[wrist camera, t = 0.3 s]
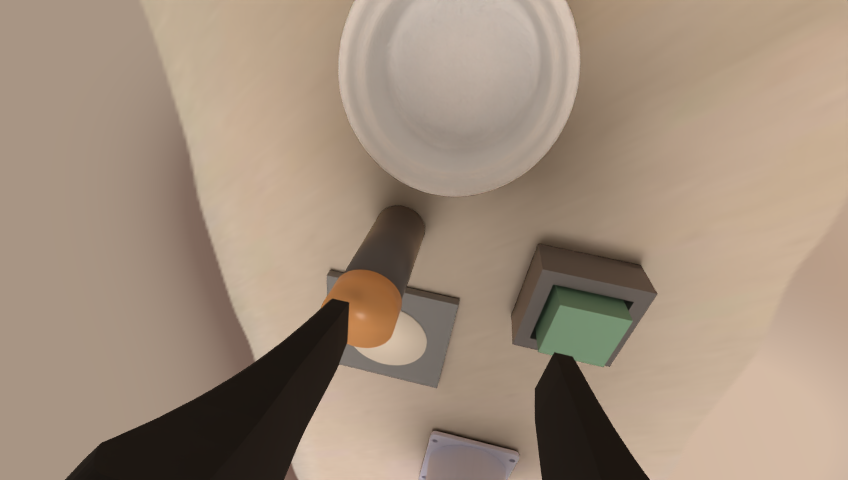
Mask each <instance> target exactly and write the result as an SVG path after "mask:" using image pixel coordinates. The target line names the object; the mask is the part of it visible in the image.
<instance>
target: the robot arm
mask: <svg viewBox="0 0 848 480" xmlns="http://www.w3.org/2000/svg"><path fill="white" fill-rule="evenodd" d="M348 321H349V302H346V301H341V300H337V299H331V300H329V301H328V302H327V303H326V304H325V305H324V306H323V307H322V308H321V309H320V310H319V311H318V312H317V313H316V314H314V315H313V316H312V317H311V318H310V319H309V320H308V321H307V322H305V323H304V324H303V325H302V326H301V327H300V328H298V329H297V330H296V331H295V332H294V333H292V334H291V335H290V336H289V337H288V338H286V339H285V340H284V341H283V342H281V343H280V344H279V345H277V346H276V347H275V348H273V349H272V350H271V351H269V352H268V353H267V354H265V355H264V356H263V357H261V358H260V359H259V360H257V361H256V362H254V363H253V364H251V365H250V366H248V367H247V368H246V369H244V370H242V371H241V372H239V373H238V374H236V375H235V376H233V377H232V378H230V379H228V380H227V381H225V382H223V383H222V384H220V385H218V386H217V387H215V388H213V389H212V390H210V391H208V392H206V393H205V394H203V395H201V396H199V397H197V398H196V399H194V400H192V401H190V402H188V403H186V404H184V405H182V406H180V407H178V408H176V409H174V410H172V411H170V412H169V413H166V414H165V415H163V416H161V417H159V418H157V419H154V420H152V421H150V422H148V423H146V424H143V425H141V426H139V427H137V428H135V429H132V430H130V431H128V432H125V433H123V434H121V435H119V436H116V437H114V438H112V439H109V440H107V441H105V442H102V443H101V444H100V445H99V446H98V447H97V448H96V449H95V450H94V451H92V452H91V453H90V454H89V455H88V456H87V457H86V458H85V459H84V460H83V461H82V462H81V463H80V464H79V465H78V466H77V468H76V469H75V470H74V471H73V472H72V473H71V474H70V475H69V476H68V477H67V478H66V479H65V480H284V478H285V476H286V473H287V471H288V468H289V466H290V464H291V461H292V459H293V456H294V454H295V452H296V449H297V447H298V444H299V442H300V440H301V438H302V436H303V433H304V431H305V429H306V427H307V425H308V423H309V421H310V420H311V418H312V416H313V414H314V412H315V410H316V408H317V406H318V404H319V402H320V401H321V399H322V397H323V395H324V393H325V391H326V389H327V387H328V385H329V383H330V381H331V380H332V378H333V376H334V374H335V372H336V370H337V368H338V365H339V363H340V360H341V358H342V355H343V352H344V350H345V347H346V344H347V342H348ZM535 424H536V433H537V441H538V450H539V458H540V466H541V474H542V480H650V479H649V478H648V477H647V475H646V474H645V473H644V471H643V470H642V469H641V467H640V466H639V464H638V463H637V462H636V460H635V459H634V457H633V456H632V454H631V453H630V451H629V450H628V448H627V447H626V445H625V444H624V442H623V441H622V439H621V438H620V436H619V435H618V433H617V432H616V430H615V428H614V427H613V425H612V424H611V422H610V420H609V419H608V417H607V415H606V414H605V412H604V410H603V409H602V407H601V405H600V404H599V402H598V400H597V399H596V397H595V395H594V393H593V392H592V390H591V388H590V386H589V385H588V383H587V381H586V379H585V377H584V376H583V374H582V372H581V370H580V368H579V367H578V365H577V363H576V361H575V360H574V358H573V356H569V355H564V354H560V353H556V352H554V354H553V356H552V358H551V360H550V361H549V363H548V365H547V367H546V369H545V371H544V373H543V375H542V377H541V378H540V380H539V382H538V384H537V386H536V388H535ZM518 460H519V453H518V452H517V451H514V450H510V449H506V448H502V447H498V446H494V445H490V444H486V443H482V442H478V441H474V440H470V439H466V438H463V437H459V436H455V435H451V434H447V433H443V432H439V431H432V432H431V435H430V438H429V442H428V446H427V449H426V453H425V457H424V460H423V464H422V468H421V471H420V475H419V480H508V478H509V476H510V474H511V473H512V471H513V469H514V467H515V466H516V464H517V462H518Z"/></svg>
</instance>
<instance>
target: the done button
mask: <svg viewBox="0 0 848 480" xmlns="http://www.w3.org/2000/svg"><path fill="white" fill-rule="evenodd" d="M632 322H633V320H632V318H631V316H630V313H629V311H628V309H627V307H626V304H625V302H624V300H623V299H618V298H613V297H609V296H604V295H600V294H595V293H591V292H586V291H581V290H577V289H572V288H568V287H563V286H558V285H554V284H553V286H552V288H551V290H550V293H549V295H548V297H547V300H546V302H545V304H544V306H543V309H542V311H541V313H540V316H539V318H538V320H537V322H536V325H535V330H536V338H537V347H538V352H540V353H545V354H549V355H553V354H554V352H556V353H560V354H564V355H569V356H573V358H574V360H575V361H579V362H583V363H588V364H592V365H596V366H601V367H604V365H605V364H606V362H607V361H608V359H609V357H610V356H611V354H612V353H613V351H614V350H615V348H616V347H617V345H618V343H619V342H620V340H621V339H622V337H623V336H624V334H625V333H626V331H627V330H628V328H629V326H630V325H631V323H632Z"/></svg>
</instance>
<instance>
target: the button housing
mask: <svg viewBox="0 0 848 480" xmlns="http://www.w3.org/2000/svg"><path fill="white" fill-rule="evenodd" d="M553 284H554V285H558V286H563V287H568V288H572V289H577V290H581V291H586V292H591V293H595V294H600V295H604V296H609V297H613V298H618V299H623V300H624V302H625V304H626V307H627V309H628V311H629V313H630V316H631V318H632V320H633V322H632V323H631V325H630V326H629V328H628V330H627V331H626V333H625V334H624V336H623V337H622V339H621V340H620V342H619V343H618V345H617V347H616V348H615V350H614V351H613V353H612V354H611V356H610V357H609V359H608V361H607V362H606V364H605V365H604V366H609V367H610V365H611V364H612V362H613V361H614V359H615V358H616V356H617V355H618V353H619V352H620V350H621V349H622V347H623V345H624V344H625V342H626V341H627V339H628V338H629V336H630V335H631V333H632V332H633V330H634V329H635V327H636V326H637V324H638V323H639V321H640V320H641V318H642V317H643V315H644V314H645V312H646V311H647V309H648V307H649V306H650V304H651V303H652V301H653V300H654V298H655V297H656V295H657V292H656V291H655V289H654V287H653V285H652V284H651V282H650V280H649V278H648V277H647V275H646V273H645V271H644V270H643V268H642V266H641V265H637V264H632V263H628V262H623V261H618V260H613V259H609V258H604V257H599V256H594V255H589V254H585V253H580V252H575V251H570V250H566V249H561V248H556V247H551V246H546V245H542V244H538V246H537V249H536V251H535V254H534V257H533V259H532V262H531V265H530V267H529V270H528V273H527V275H526V278H525V281H524V283H523V286H522V288H521V291H520V294H519V296H518V299H517V302H516V304H515V307H514V310H513V312H512V315H511V320H512V343H513V344H514V345H518V346H522V347H527V348H531V349H535V350H538V347H537V338H536V330H535V325H536V322H537V320H538V318H539V316H540V313H541V311H542V309H543V306H544V304H545V302H546V300H547V297H548V295H549V293H550V290H551V288H552V286H553Z"/></svg>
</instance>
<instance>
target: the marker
mask: <svg viewBox="0 0 848 480" xmlns="http://www.w3.org/2000/svg"><path fill="white" fill-rule="evenodd" d="M424 234H425V226H424V223H423V221H422V219H421V217H420V216H419V215H418V214H417V213H416V212H415V211H413V210H412V209H410V208H408V207H404V206H391V207H388V208H386V209H385V210H383V211H382V212H381V213H380V215H379V216H378V218H377V220H376V221H375V223H374V225H373V226H372V228H371V230H370V231H369V233H368V234H367V236H366V238H365V239H364V241H363V243H362V244H361V246H360V248H359V249H358V251H357V253H356V254H355V256H354V257H353V259H352V261H351V262H350V264H349V266H348V267H347V269H346V271H345V272H344V274H343V275H341V276H340V277H339V278H338V280H337V281H336V283H335V284H334V286H333V288H332V289H331V291H330V292H329V294H328V296H327V297H326V299H325V300H324V302H323V304H322V306H321V308H322V307H323V306H324V305H325V304H326V303H327V302H328V301H329V300H331V299H337V300H341V301H346V302H349V321H348V342H347V344H349V345H351V346H355V347H360V348H374V347H378V346H381V345H383V344H385V343H386V342H387V341H388V340H389V339H390V338H391V337H392V334H393V332H394V329H395V326H396V323H397V320H398V317H399V314H400V311H401V307H402V298H403V295H404V292H405V289H406V287H407V284H408V281H409V278H410V275H411V272H412V269H413V266H414V263H415V260H416V258H417V255H418V252H419V249H420V246H421V243H422V240H423V237H424Z"/></svg>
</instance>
